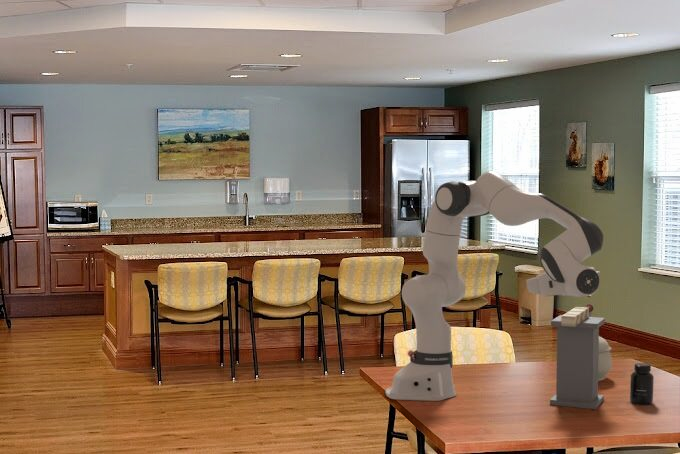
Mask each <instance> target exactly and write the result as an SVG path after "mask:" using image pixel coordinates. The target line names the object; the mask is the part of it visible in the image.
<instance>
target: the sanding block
mask: <svg viewBox="0 0 680 454" xmlns="http://www.w3.org/2000/svg"><path fill="white" fill-rule="evenodd" d="M561 315H562V316H561V326H570V327H575V326H577V325H578V324H580V323H581V322H582V321H584V320H585V319H587V318H588V317H589V308H587V307H585V306H584V307H582V306H575V307H574V308H572V309H570V310H568V311H567V312H566V313H564V314H561Z"/></svg>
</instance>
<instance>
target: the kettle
mask: <svg viewBox="0 0 680 454" xmlns="http://www.w3.org/2000/svg"><path fill="white" fill-rule="evenodd" d="M584 307H587V308H589V317H593V313H592V312H593V311H594V306H593V304H586V305H585V306H584ZM611 351H612V347H611V346H610V345H609V343H608V342H607V340H606V339H605V338H603V337H602V336H600V335H599V354H598V382H602V381H605V380H606V378H607V377H606V375H608V374H609V372H610V371H611V370H612V368H613V358H612V354H611Z"/></svg>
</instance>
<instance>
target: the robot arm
mask: <svg viewBox="0 0 680 454" xmlns="http://www.w3.org/2000/svg"><path fill="white" fill-rule="evenodd" d="M488 215H491V216H492V217H493V218H494V219H495V220H496V221H497V222H499V223H500V224H503V225H504V226H508V227H509V226H510V227H514V226H515V227H517V226H522V225H524V224H527V223H529V222H533V221H536V220H541V219H550V220H552V221H554V222H556V223H557V224H558V225H560V226H562V227H563V228H565V229H566V230H564V231H563V232H562V233H560V234H559V235H557V236H556V237H555V238H553V239H552V240H550V241H549V242H548V243H546V244H545V245H544V246H543V247H541V249H540V251H539V253H540V256H539V262H540V265H541V267H542V269H543V270H544V273H540V274H538V275H537V276H536V277H531V278H528V279H526V287H527V290H528V291H527V292H529V293H531V294H535V295H541V297H551V296H552V297H553V296H564V297H565V296H571V297H578V298H586V297H589V296H591V295H593V294H595V292H596V291H597V290H598V289H599V287H600V285H601V277H600V275H601V273H602V272H601V271H600V270H596V268H595V267H593V266H588V265H587V266H586V265H583V264H581V263H582V262H584V261H585V260H586V259H587V258H589V257H591V256H592V255H594V254H597V253H598V252H599V251H601V250H602V247H603V244H604V233H603V232H602V230H601V228H599V226H598V225H597V224H595V222H593V221H591V220H589V219H587V218H585V217H582V216H580V215H578V214H577V213H575V212H573V211H572V210H570V209H569V208H567V207H565V206H564V205H562V204H561V203H559V202H557V201H556V200H554V199H552V198H550V197H548V196H547V195H545V194H543V193H539V192H536V193H531V192H527V191H524V190H522V189H521V188H519V187H518V186H516V185H515V183H513V182H512V181H511V180H509V179H508V178H507V177H505V176H503V175H501V174H500V173H498V172H496V171H492V170H490V171H486V172H483V173H482V174H481V175H480V176H479V177H478V178H477V179H476V180H460V181H457V180H453V181H452V180H451V181H447V182H445V183H443V184H440V185H439V187H438V188H437V190H436V191H435V196H434V201H433V202H432V204H431V207H430V211H429V213H428V217H427V222H426V224H425V225H426V227H425V232H424V240H423V246H422V254H423V257H424V258H425V259H426V260H427V262H428V274H422V275H421V274H419V275H416V276H414V277H411V278H410V279H408V280H407V281H405V282H404V284H403V285H402V289H401V298H402V301H403V303H404V305H406V307H408V308H409V310H410V311H411V313H412V317H413V319H414V323H415V331H416V332H415V333H416V349H415V350H414V351H413V350H412V349H410V350H409V349H408V351H407V356H408V357H409V360H410V362H408V363H407V364H406V365H405V366H403V367H402V368H401V369H399V370H397V372H395V374H394V376H393V378H392V379H393V380H392V384H391V385H392V386H389V387H388V388H386V389H385V396H386V397H388V398H389V399H391V400H401V401H402V400H403V401H427V402H428V401H431V402H432V401H433V402H434V401H435V402H440V401H443V400H445V399H450V398H454V397H455V396H456V395H457V393H456V390H455V386H454V380H453V379H454V378H453V373H452V372H453V371H452V370H453V364H454V362H453V361H454V354H453V351H452V327H451V325H450V324H449V323H448V322H447V321H446V319H445V316H444V313H443V307H449V306H452V305H454V304H456V303H457V302H460V301H461V300H462V299H463V298H464V296H465V294H466V289H467V288H466V282H465V281H464V278H462V277H461V274H460V271H459V263H458V256H459V255H458V253H459V245H460V239H461V234H462V224H463V222H464V220H465V218H468V217H469V218H470V217H473V218H475V217H484V216H488Z"/></svg>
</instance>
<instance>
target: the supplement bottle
mask: <svg viewBox="0 0 680 454" xmlns="http://www.w3.org/2000/svg"><path fill="white" fill-rule="evenodd" d="M651 366H652V365H651V364H649V363H645V362H644V363H643V362H637V363H636V362H635V363H634V369H633V370H634V371H633V372H632V373H631V374H630V388H629V389H630V390H629V391H630V392H629V402H631V403H632V404H634V405H643V406H648V405H651V404H653V402H654V400H653V399H654V383H655V382H654V380H655V379H654V375H653V373H651Z"/></svg>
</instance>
